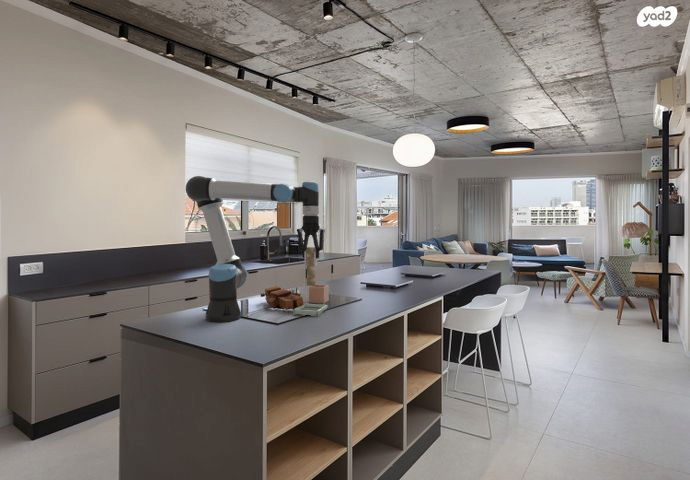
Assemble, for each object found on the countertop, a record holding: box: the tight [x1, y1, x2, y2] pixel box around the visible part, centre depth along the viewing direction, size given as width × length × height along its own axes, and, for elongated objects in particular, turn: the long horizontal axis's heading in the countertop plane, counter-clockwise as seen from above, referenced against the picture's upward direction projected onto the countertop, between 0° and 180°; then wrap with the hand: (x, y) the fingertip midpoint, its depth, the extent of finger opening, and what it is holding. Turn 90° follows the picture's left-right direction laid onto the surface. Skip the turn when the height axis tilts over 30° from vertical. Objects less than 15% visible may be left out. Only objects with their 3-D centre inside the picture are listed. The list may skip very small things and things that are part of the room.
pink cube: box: [308, 284, 330, 304], centre depth 221 cm, size 8×8×9 cm
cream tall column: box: [306, 246, 316, 287], centre depth 200 cm, size 4×4×18 cm
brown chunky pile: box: [259, 285, 305, 311], centre depth 213 cm, size 17×9×30 cm
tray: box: [292, 303, 329, 317], centre depth 201 cm, size 12×14×2 cm
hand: (310, 265), depth 200 cm, fingers closed on cream tall column, 4 cm apart
